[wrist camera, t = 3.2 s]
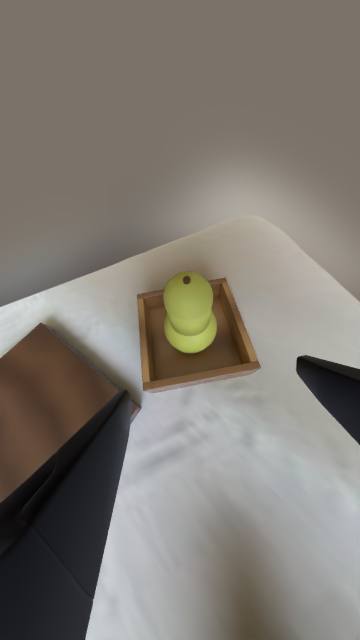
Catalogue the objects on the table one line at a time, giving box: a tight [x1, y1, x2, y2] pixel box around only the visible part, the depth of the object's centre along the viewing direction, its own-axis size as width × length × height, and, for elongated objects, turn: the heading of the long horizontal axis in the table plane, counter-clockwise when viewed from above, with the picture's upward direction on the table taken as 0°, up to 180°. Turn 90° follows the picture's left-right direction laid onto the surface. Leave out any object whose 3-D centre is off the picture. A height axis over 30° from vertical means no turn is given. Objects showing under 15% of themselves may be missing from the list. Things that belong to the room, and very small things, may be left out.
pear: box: [163, 272, 217, 354], centre depth 18 cm, size 6×6×12 cm
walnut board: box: [0, 323, 141, 502], centre depth 20 cm, size 14×20×2 cm
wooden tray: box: [137, 278, 261, 393], centre depth 22 cm, size 13×13×4 cm
